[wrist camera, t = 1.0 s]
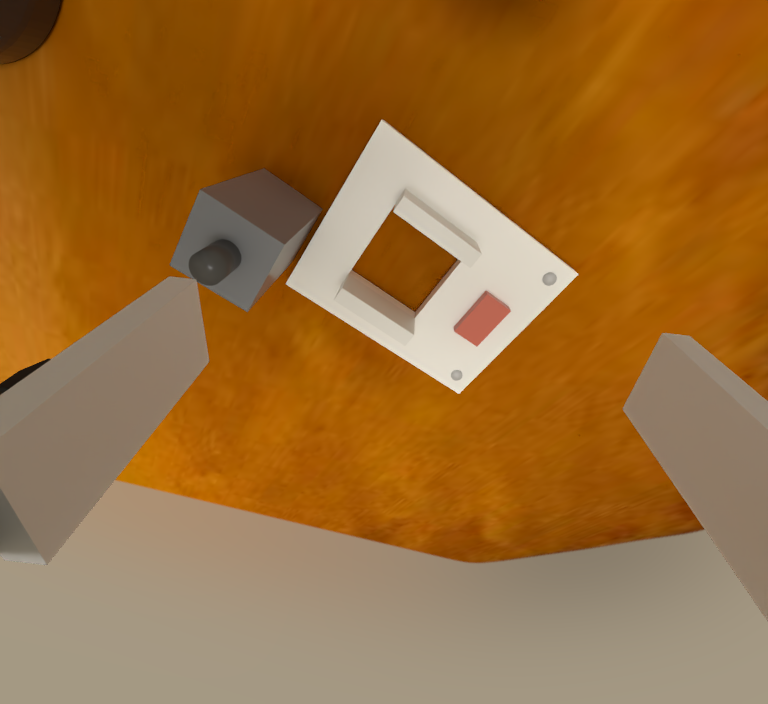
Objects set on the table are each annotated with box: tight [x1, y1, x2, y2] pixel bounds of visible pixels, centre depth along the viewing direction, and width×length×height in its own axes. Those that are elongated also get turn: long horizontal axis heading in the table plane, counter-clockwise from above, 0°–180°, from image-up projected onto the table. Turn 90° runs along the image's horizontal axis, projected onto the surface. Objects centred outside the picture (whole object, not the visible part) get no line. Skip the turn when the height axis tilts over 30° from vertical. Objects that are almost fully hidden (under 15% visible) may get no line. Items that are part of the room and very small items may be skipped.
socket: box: [286, 119, 578, 394], centre depth 31 cm, size 18×14×4 cm
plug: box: [170, 168, 323, 312], centre depth 26 cm, size 5×5×12 cm
